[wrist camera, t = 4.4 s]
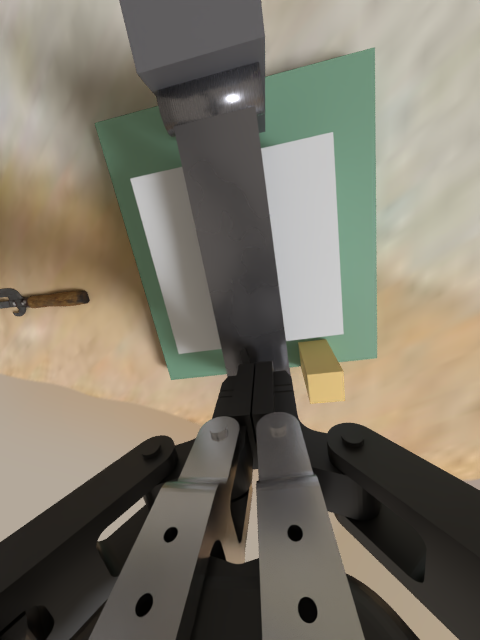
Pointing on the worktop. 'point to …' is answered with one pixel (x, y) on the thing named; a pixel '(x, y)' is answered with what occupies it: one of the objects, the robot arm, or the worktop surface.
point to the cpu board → (286, 123)
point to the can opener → (42, 300)
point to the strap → (230, 208)
